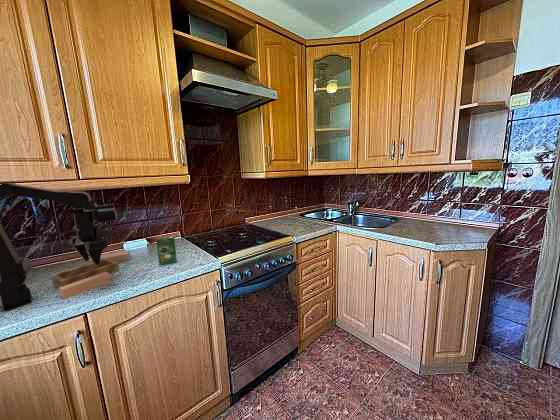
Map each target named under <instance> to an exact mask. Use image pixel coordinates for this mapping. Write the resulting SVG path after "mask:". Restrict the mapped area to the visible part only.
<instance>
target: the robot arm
mask: <svg viewBox="0 0 560 420" xmlns="http://www.w3.org/2000/svg"><path fill="white" fill-rule="evenodd" d="M11 196H15V197H16V196H17V197H24V198H30V199H37V200H45V201H51V202H57V203H60V204H63V205H66V206H70V208H69V209H68V210H67V212H65V215H67V216H68V215H73V219H74V224H75V225H74V226H75V227H73V230H74V231H75V232H76V235H75V236H71V237H70V238H69V239H68V241H69V245H71V247H73V249H74V250H75V251H76V252H77V253H78V254H79V255H80V256H81V258H82V259H83V260H84V261H85V262H89V261H90V258H91V259H92V260H93V262H94V263H95V265H98V264H99V262H100V257H101V254H103V253H102V252H103V251H104V250H105V249H106V248H107V247H108V246H109V241H108V240H107V239H106V238H109V239H112V238H113V235H114V230H113V229H112V230H111V229H107V228H106V227H105V226H102V225H101V226H99V225H95V221H97V222H99V223H105V222H115V221H117V220H118V216H117V211H116V208H115V204H114V203H110V204H102V205H99V204H97V203H96V202H95V201H94V200H93V199H92V197H91V195H90V194H89V193H88V192H86V191H76V190H73V191H71V190H70V191H69V190H56V189H55V190H54V189H50V188H48V189H47V188H43V187H42V188H41V187H35V186H30V185H23V184H17V183H15V182H4V183H3V182H2V183H1V184H0V202H1V201H3V200H5V199H7V198H9V197H11ZM74 207H75V208H74ZM86 209H87V210H86ZM93 213H94V214H93ZM101 237H102V238H101ZM33 269H34V266H33V265H32V263H31V261H30V258H29V257H26V258H24V259H23V258H21V256H19V255H18V253H17V251H16V250H15V247H14V246H13V243H12V242H11V240H10V238H9V236H8V235H7V233H6V231H5V228H4V227H3V225H2V222H0V281H1V282H0V308H1V309H2V310H3V311H4V312H8V311H10V310H13V309H15V308H18V307H20V306H24V305H27V304H29V303H32V302H33V300H32V293H31V289H30V287H28V286H27V284H26V282H27V280H28V278H30V277H31V275H32V273H33Z"/></svg>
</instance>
